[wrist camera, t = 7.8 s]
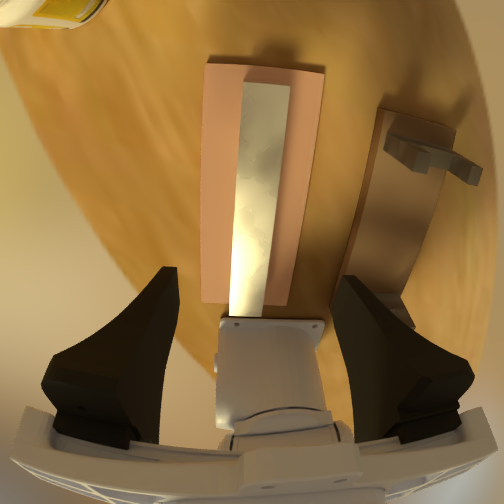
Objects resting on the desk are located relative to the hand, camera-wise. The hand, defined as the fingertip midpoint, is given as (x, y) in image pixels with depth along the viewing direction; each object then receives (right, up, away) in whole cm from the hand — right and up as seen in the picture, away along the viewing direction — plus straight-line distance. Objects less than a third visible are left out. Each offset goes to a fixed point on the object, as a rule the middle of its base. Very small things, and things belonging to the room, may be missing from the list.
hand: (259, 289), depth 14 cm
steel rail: (0, +4, +6) cm, 7 cm away
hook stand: (+10, +4, +9) cm, 14 cm away
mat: (0, +5, +8) cm, 9 cm away
